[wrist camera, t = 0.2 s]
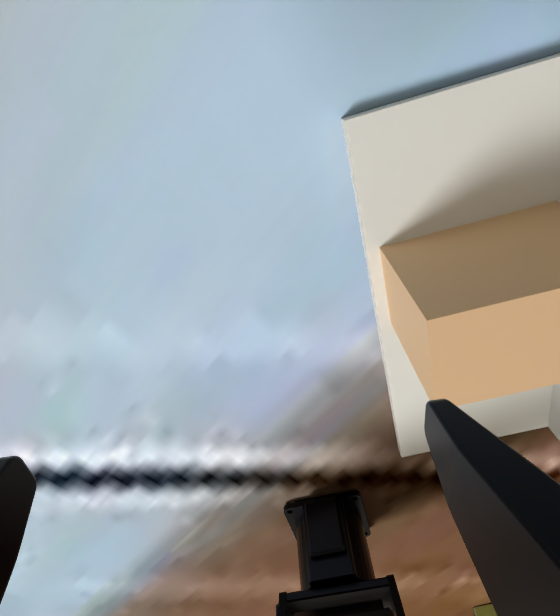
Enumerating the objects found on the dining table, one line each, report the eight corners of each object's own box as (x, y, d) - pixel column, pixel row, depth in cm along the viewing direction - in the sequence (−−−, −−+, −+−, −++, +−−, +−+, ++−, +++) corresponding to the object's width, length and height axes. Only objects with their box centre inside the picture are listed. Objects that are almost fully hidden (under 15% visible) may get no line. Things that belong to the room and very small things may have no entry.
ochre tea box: (556, 200, 20) (679, 258, 14) (547, 285, 23) (649, 364, 17) (379, 247, 21) (427, 320, 15) (391, 324, 24) (435, 412, 18)
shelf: (675, 389, 29) (710, 416, 27) (398, 448, 31) (409, 478, 29) (818, -25, 17) (904, -38, 14) (340, 118, 19) (352, 126, 16)
